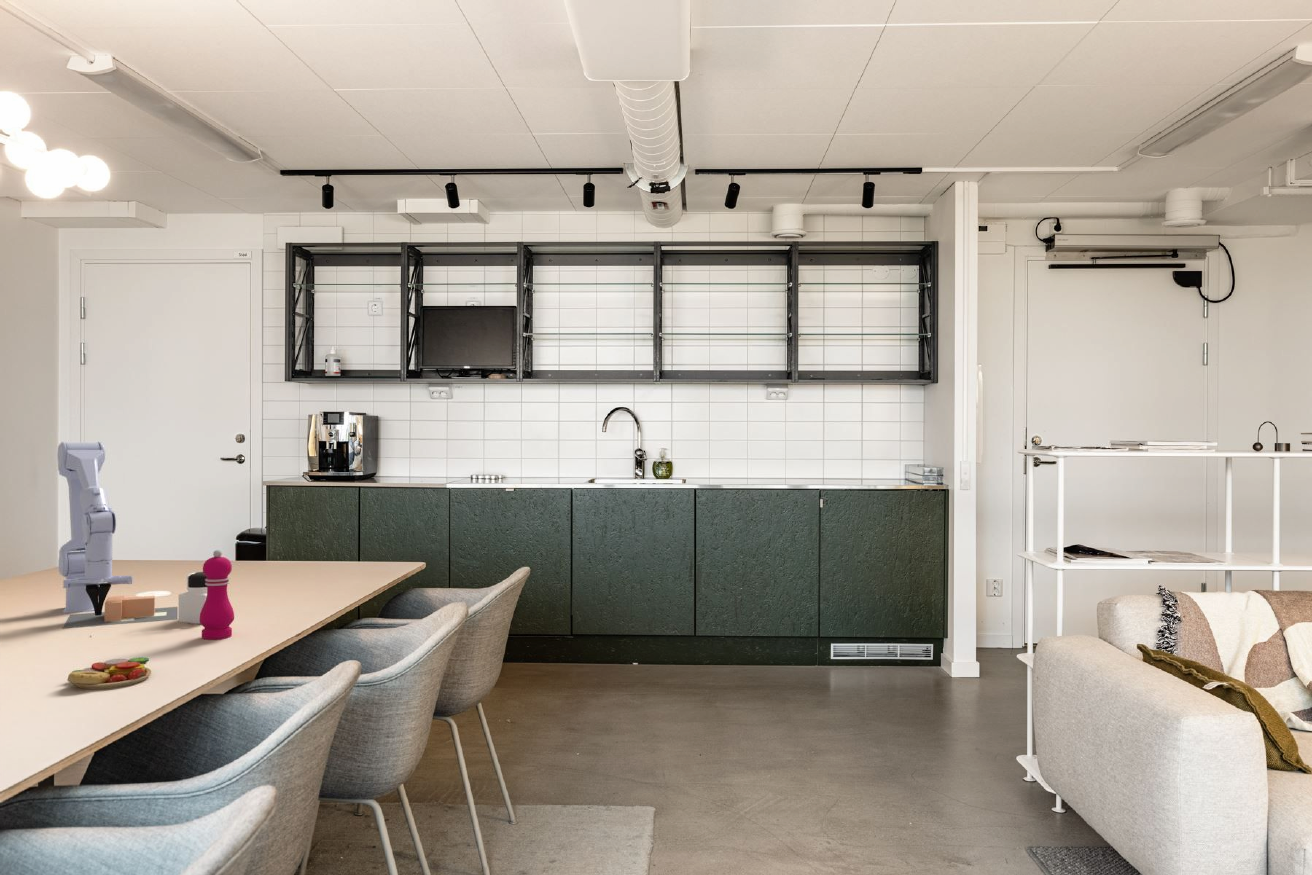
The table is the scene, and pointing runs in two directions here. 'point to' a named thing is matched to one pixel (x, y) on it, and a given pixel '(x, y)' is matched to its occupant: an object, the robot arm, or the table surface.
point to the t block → (128, 607)
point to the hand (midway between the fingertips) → (98, 614)
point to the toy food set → (111, 674)
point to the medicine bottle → (193, 598)
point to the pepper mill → (217, 599)
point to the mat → (99, 620)
